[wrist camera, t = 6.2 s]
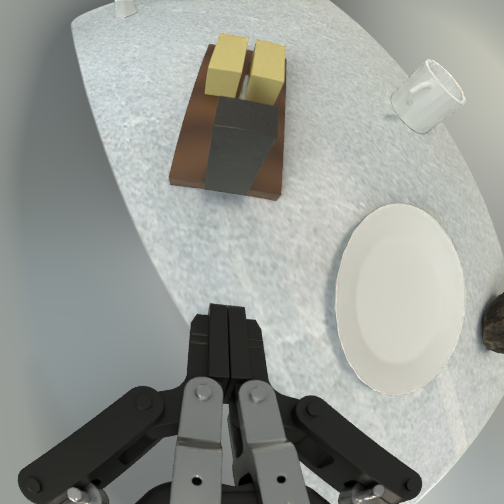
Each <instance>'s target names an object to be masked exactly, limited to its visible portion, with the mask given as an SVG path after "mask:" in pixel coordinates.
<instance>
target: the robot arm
mask: <svg viewBox="0 0 504 504" xmlns="http://www.w3.org/2000/svg"><path fill="white" fill-rule="evenodd" d="M262 340H263V339H262V332H261V328H260V327H259V325H258V323H257V322H256V320H252V319H246V314H245V307H240V306H231V305H221V304H212V303H210V305H209V311H208V315H201V314H196V316H195V317H194V319H193V320H192V322H191V329H190V340H189V352H188V365H187V376H186V379H185V381H184V382H183V383H182V384H181V385H180V386H179V387H177V388H174V389H171V390H165V391H159V392H157V391H156V390H154V389H153V388H151V387H147V386H138V387H135V388H133V389H131V390H130V391H128V392H127V393H126V394H125V395H123V396H122V397H121V398H119V399H118V400H117V401H116V402H114V403H113V404H112V405H110V406H109V407H108V408H106V409H105V410H104V411H102V412H101V413H100V414H98V415H97V416H96V417H95V418H93V419H92V420H91V421H89V422H88V423H87V424H85V425H84V426H83V427H81V428H80V429H78V430H77V431H76V432H74V433H73V434H72V435H70V436H69V437H68V438H66V439H65V440H63V441H62V442H61V443H59V444H58V445H57V446H55V447H53V448H52V449H51V450H49V451H48V452H47V453H45V454H44V455H42V456H41V457H39V458H38V459H36V460H35V461H34V462H32V463H31V464H29V465H28V466H26V467H25V468H23V469H22V470H21V471H20V473H19V475H18V484H19V487H20V490H21V492H22V493H23V494H24V496H25V497H26V498H27V499H28V500H30V501H31V502H33V503H35V504H109V498H108V496H107V494H106V493H105V491H104V490H103V488H105V487H106V486H107V485H108V484H110V483H111V482H112V481H113V480H115V479H116V478H117V477H118V476H120V475H121V474H122V473H123V472H124V471H126V470H127V469H128V468H129V467H130V466H131V465H133V464H134V463H135V462H136V461H138V459H140V458H141V457H142V456H143V455H144V454H145V453H147V452H148V451H149V450H150V449H151V448H152V447H153V446H155V445H156V444H157V443H158V442H159V441H160V440H161V439H162V438H164V437H169V436H174V435H178V437H177V442H176V448H175V456H174V465H173V475H172V481H171V482H167V483H163V484H160V485H158V486H156V487H154V488H152V489H151V490H149V491H148V492H147V493H146V494H145V495H144V496H143V497H142V498H141V499H139V500H138V501H137V502H136V503H135V504H330V503H329V502H328V501H327V500H325V499H324V498H323V497H322V496H320V495H319V494H318V493H317V492H316V491H314V490H313V489H311V488H310V487H308V486H306V485H305V482H304V478H303V475H302V471H301V467H300V463H299V461H301V462H302V463H303V464H304V465H305V466H306V467H308V468H309V469H310V470H311V471H313V472H314V473H315V474H316V475H317V476H319V477H320V478H321V479H323V480H324V481H325V482H326V483H328V484H329V485H330V486H332V487H333V488H334V489H336V490H337V491H338V492H340V495H339V499H338V503H339V504H399V503H401V502H405V501H408V500H411V499H413V498H415V497H416V496H417V495H418V494H419V493H420V491H421V488H422V479H421V477H420V475H419V474H418V473H417V472H415V471H414V470H412V469H411V468H410V467H408V466H407V465H405V464H404V463H403V462H401V461H400V460H398V459H397V458H396V457H394V456H393V455H392V454H390V453H389V452H388V451H386V450H385V449H384V448H382V447H381V446H380V445H378V444H377V443H376V442H374V441H373V440H372V439H371V438H369V437H368V436H367V435H365V434H364V433H363V432H362V431H360V430H359V429H358V428H357V427H355V426H354V425H353V424H352V423H350V422H349V421H348V420H347V419H346V418H344V417H343V416H342V415H341V414H339V413H338V412H337V411H336V410H335V409H334V408H332V407H331V406H330V405H329V404H328V403H326V402H325V401H324V400H323V399H321V398H320V397H317V396H312V395H310V396H305V397H303V398H301V399H300V400H299V399H296V398H292V397H288V396H285V395H282V394H280V393H278V392H277V391H276V390H274V389H273V387H272V386H271V385H270V383H269V380H268V374H267V367H266V360H265V353H264V346H263V341H262ZM223 404H229V415H228V419H227V420H228V428H229V435H230V442H231V448H232V455H233V465H232V468H233V477H234V483H235V486H230V485H225V484H221V482H222V446H221V427H222V407H223Z"/></svg>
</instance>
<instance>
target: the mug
mask: <svg viewBox="0 0 504 504" xmlns="http://www.w3.org/2000/svg"><path fill="white" fill-rule="evenodd" d="M391 102H392V106H393V108H394V110H395V112H396V113H397V114H398V116H399V117H400V119H401V120H402V121H403V122H404V123H405V124H406V125H407V126H409V127H410V128H411V129H412V130H414V131H416V132H418V133H426V132H428V131H429V130H430V129H432V128H433V127H434V126H436V125H437V124H438V123H440V122H441V121H442V120H443V119H445V118H446V117H448V116H449V115H450V114H452V113H453V112H454V111H456V110H457V109H458V108H460V107H461V106H462V105H464V104H465V96H464V93H463V91H462V89H461V88H460V86H459V85H458V83H457V82H456V80H455V79H454V78H453V77H452V76H451V74H450V73H449V72H447V70H446V69H444V68H443V67H442V66H441V65H440V64H438V63H437V62H435V61H433V60H429V59H427V60H426V61H425V62H424V63H423V64H422V65H421V66H420V67H419V68H418V69H417V70H416V71H415V72H414V73H413V74H412V75H411V76H410V77H409V78H408V79H407V80H406V81H405V82H404V83H403V84H402V85H401V86H400V87H399V88H398V89H397V90H396V91H395V92H394V93H393V94H392V96H391Z"/></svg>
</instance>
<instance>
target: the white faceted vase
mask: <svg viewBox="0 0 504 504" xmlns="http://www.w3.org/2000/svg"><path fill="white" fill-rule="evenodd" d="M114 1H115V6H116V12H115V17H123V18H125V17H128V16H130V15H132V14H134V13H136V12H137V9H136V7H135V0H114Z"/></svg>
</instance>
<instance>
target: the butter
mask: <svg viewBox="0 0 504 504" xmlns="http://www.w3.org/2000/svg"><path fill="white" fill-rule="evenodd" d="M248 40H249V38H247V37H241V36H236V35H229V34H222V33H220V35H219V38H218V40H217V43H216V46H215V49H214V52H213V55H212V57H211V60H210V63H209V66H208V72H207V79H206V87H205V94H208V95H215V96H226V97H232V98H235V96H236V93H237V89H238V85H239V81H240V78H241V74H242V70H243V65H244V59H245V55H246V50H247V45H248ZM284 75H285V46H283V45H279V44H275V43H271V42H267V41H262V40H257V41H256V44H255V48H254V51H253V54H252V57H251V60H250V64H249V70H248V76H249V77H248V84H247V90H246V96H245V100H248V101H253V102H258V103H263V104H268V105H272V106H273V105H274V103H275V101H276V99H277V97H278V95H279V92H280V90H281V88H282V86H283V84H284Z"/></svg>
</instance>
